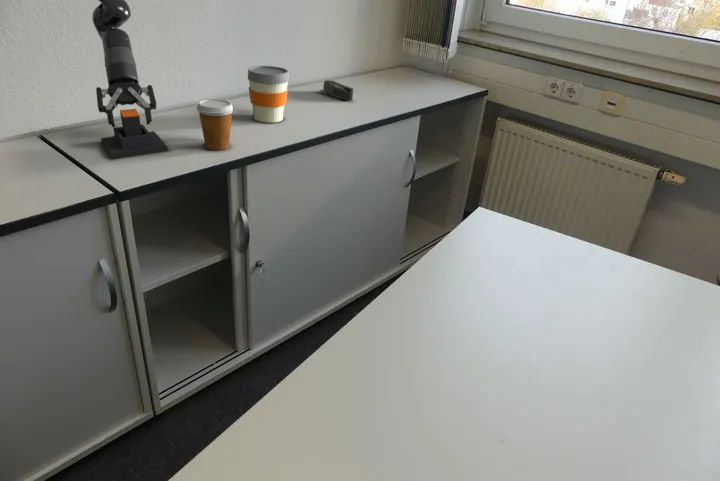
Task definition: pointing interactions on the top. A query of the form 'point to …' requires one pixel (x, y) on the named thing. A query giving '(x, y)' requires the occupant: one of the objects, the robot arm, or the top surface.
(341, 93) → the dark grey block piece
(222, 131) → the disposable coffee cup
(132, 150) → the base pad
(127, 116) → the pad block
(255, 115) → the reusable coffee cup
